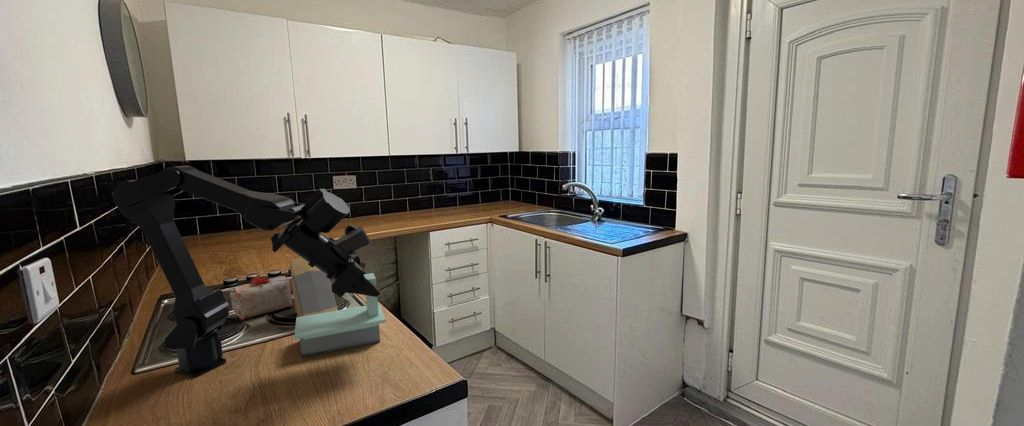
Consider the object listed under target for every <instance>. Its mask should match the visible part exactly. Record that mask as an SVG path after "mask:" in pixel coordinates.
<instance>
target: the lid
mask: <svg viewBox="0 0 1024 426" xmlns="http://www.w3.org/2000/svg"><path fill="white" fill-rule="evenodd" d="M364 276H365V277H366V278H367V279H368V280H369V281H370V282H371V283H372V284H373V285H374V286H375V288H376V289H377V290H378V286H377V287H376V285H377V277H376V276H375V273H374V272H372V273H367V274H364ZM364 296H365V304H366V305H360V306H357V307H355V306H354V307H349V308H344V309H338V310H337V311H331V312H325V313H320V314H314V315H308V316H302V317H297V316H296V320H295V327H294V334H293V338H294V340H295V341H296V340H300V338H303V339H304V340H305V339H310V338H316V337H321V336H326V335H331V334H337V333H342V332H347V331H352V330H358V329H363V328H368V327H373V326H378V324H379V325H380V324H385V323H387V321H386V316H385V315H384V314H385V313H384V312H383V309H382V307H381V303H379V301H378V297H373V296H367V295H364Z"/></svg>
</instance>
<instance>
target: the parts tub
mask: <svg viewBox="0 0 1024 426" xmlns="http://www.w3.org/2000/svg"><path fill="white" fill-rule="evenodd" d="M380 335H381V333H380V323H379V324H378V326H373V327H368V328H363V329H358V330H352V331H347V332H342V333H337V334H331V335H326V336H321V337H316V338H310V339H305V340H304V339H303V338H300V339H299V343H300V344H299V345H300V351H301V357H302V358H304V357H311V356H316V355H320V354H321V355H322V354H326V353H331V352H337V351H341V350H347V349H351V348H352V349H353V348H358V347H361V346H367V345H372V344H377V343H381V336H380Z"/></svg>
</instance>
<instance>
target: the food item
mask: <svg viewBox="0 0 1024 426" xmlns="http://www.w3.org/2000/svg"><path fill="white" fill-rule="evenodd" d="M292 293H293V292H292V289H291V280H290V279H288V278H287V277H286V276H285V275H282V276H277V277H271V278H268V277H267V276H264V275H263V276H261V275H260V274H257V275H255V276H254V277H252V278H251V279H250V282H249V283H245V284H240V285H238V286H234V288H233V291H230V292H229V296H230V303H231V307H232V310H233V311H234V314H236V315H237V317H239V319H241V320H242V321H244V320H248V319H252V318H254V317H258V316H261V315H266V314H269V313H273V312H276V310H278V311H280V310H279V309H282V310H284V309H283V308H286V307H290V306H293V307H295V303H293V300H294V297H293V294H292ZM290 308H291V307H290ZM286 309H287V308H286Z"/></svg>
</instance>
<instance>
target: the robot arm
mask: <svg viewBox="0 0 1024 426" xmlns="http://www.w3.org/2000/svg"><path fill="white" fill-rule="evenodd" d="M182 192H185V193H188V194H191V195H193V196H196V197H198V198H202V199H203V200H206V201H208V202H211V203H213V204H216V205H219V206H222V207H225V208H227V209H230V210H233V211H235V212H236V213H238V214H240V216H241V217H242V218H243V219H244V220H245V222H247V223H249V224H251V225H253V226H254V227H256V228H258V229H259V230H262V231H267V232H268V231H274V230H276V229H279V228H281V227H284V226H286V225H287V226H286V228H284V229H283V231H281V232H279V233H276V232H275V233H274V234H273V235H272V236H271V238H270V241H271V244H272V249H271V250H272V252H273V253H277V251H279V250H280V249H281V248H282V247H283V246H284V247H286V248H288V249H289V250H290V251H291V252H293V253H295V254H296V255H298V256H299V257H301V258H303V259H305V260H306V261H308V265H309V266H311V267H312V268H313V267H314V266H315V267H317V268H318V269H320V270H321V271H322V272H324V273H325V274H326V277H327V278H328V279H330V283H331V287H332V293H333V294H334V296H337V297H338V298H340V299H341V298H342V297H343V296H344V295H345V294H346V293H347V294H356V295H362V296H365V295H367V296H373V297H377V298H378V297H379V295H380V294H381V292H380V291H379V289H378V285H377V284H376V287H377V289H376V288H375V286H374V285H373V284H372V283H371V282H370V281H369V280H368V279H367V278H366V277H365V276H364V274H368V273H367V272H366V271H365V269H364V266H363V264H361V258H360V255H359V254H358V255H356V254H357V251H358V250H359V249H362V248H364V247H367V246H369V245H370V244H371V243H372V241H371V239H370V238H369V236H368V234H367V232H366V231H365V228H364V227H363V226H361V225H360V226H357V227H356V226H355V225H354V224H349V225H347V226H345V227H344V234H343V235H341V236H340V237H339V238H337V239H335V238H334V237H332V236H326V235H324V234H328V233H330V232H331V231H332V230H333V229H334V228H335V227H336V226H337V225H338V224H339V223H340V222H341V221H342V220H344V218H346V216H347V215H348V214H349V213H350V208H349V206H348V204H347V203H346V202H345V201H344V200H343V199H342V198H341V197H338V196H337V195H336V194H334V193H332V192H329V191H328V190H326V189H325V188H319V189H317V190H316V191H314V193H313V195H312V196H311V198H310V199H309V200H308V201H307V202H306V203H301V202H295V201H294V200H293V199H292V198H290V197H288V196H286V195H280V194H277V193H270V192H262V191H261V192H260V191H255V190H254V191H253V190H250V189H247V188H245V187H242V186H239V185H238V184H234V183H232V182H229V181H227V180H224V179H222V178H219V177H217V176H214V175H212V174H208V173H205V172H203V171H201V170H199V169H197V168H196V167H194V166H191V165H179V166H178V165H177V166H176V165H175V166H169V167H167V168H165V169H163V170H160V171H159V172H155V173H154V174H153V173H152V174H149V175H147V176H144V177H141V178H138V179H133V180H132V179H131V180H130V179H129V180H123V181H120V182H118V183H117V184H116V185H115V187H114V190H113V192H112V193H111V195H112V199H113V200H112V201H113V202H114V204H115V206H116V207H117V208H118V209H119V211H120V212H121V214H122V215H123V216H124V217H123V218H125V219H127V220H128V221H130V222H131V223H133V224H134V225H136V226H138V227H139V228H140V229H141V230H142V232H143V234H144V236H145V238H146V240H147V242H148V244H149V246H150V248H151V250H152V252H153V254H154V256H155V258H156V260H157V262H158V264H159V266H160V268H161V270H162V272H163V275H164V277H165V279H166V280H167V283H168V285H169V286H170V288H171V291H172V292H173V293H172V294H174V297H175V299H174V305H173V315H172V316H173V319H174V321H175V327H174V328H173V329H172V330H171V331H170V332H169V334H168V335H167V336H166V337H165V338H164V341H165V343H166V345H167V347H168V349H174V350H175V349H176V356H177V359H178V360H177V361H178V367H175V368H174V372H175V373H180V374H184V375H186V376H188V377H193V378H195V377H199V376H201V375H203V374H204V373H207V372H208V371H211V370H213V369H215V368H217V367H218V366H220V365H223V364H225V363H227V358H225V357H223V356H224V354H223V347H222V340H221V339H222V338H220V337H219V334H218V332H219V331H221V330H223V327H224V324H225V322H226V320H227V318H228V316H229V314H230V312H229V308H228V307H230V304H229V303H228V301H227V300H226V299H225V296H224V292H223V291H222V289H221V288H217V289H216V290H213V289H211V288H210V287H208V286H206V285H205V283H204V281H203V279H202V277H201V274H200V273H199V270H198V268H197V266H196V264H195V263H194V260H193V258H192V256H191V254H190V252H189V249H188V247H187V245H186V243H185V241H184V239H183V237H182V235H181V233H180V231H179V229H178V226H177V225H176V223H175V221H174V215H175V208H176V201H175V199H174V196H176V195H179V194H181V193H182ZM297 219H301V220H300V221H299V222H298V223H292V222H294V221H295V220H297ZM323 233H324V234H323ZM353 255H356V257H354V259H352V257H353Z"/></svg>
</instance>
